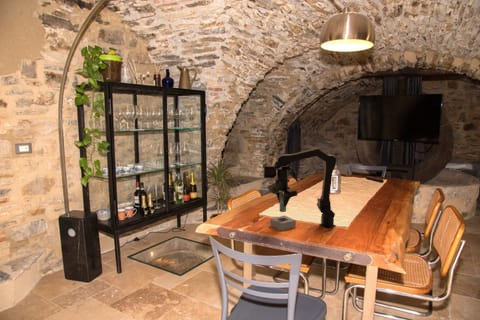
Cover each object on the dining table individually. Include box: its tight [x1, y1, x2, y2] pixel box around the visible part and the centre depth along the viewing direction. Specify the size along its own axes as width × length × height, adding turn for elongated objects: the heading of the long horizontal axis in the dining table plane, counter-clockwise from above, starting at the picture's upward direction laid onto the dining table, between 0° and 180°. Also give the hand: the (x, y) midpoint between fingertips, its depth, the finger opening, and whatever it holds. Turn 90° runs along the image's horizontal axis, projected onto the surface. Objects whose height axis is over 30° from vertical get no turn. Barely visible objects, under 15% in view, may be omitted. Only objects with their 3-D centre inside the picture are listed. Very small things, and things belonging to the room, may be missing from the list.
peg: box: [279, 193, 287, 213], centre depth 176 cm, size 4×4×10 cm
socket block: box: [269, 215, 297, 232], centre depth 178 cm, size 10×10×4 cm
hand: (282, 205), depth 177 cm, fingers closed on peg, 4 cm apart
